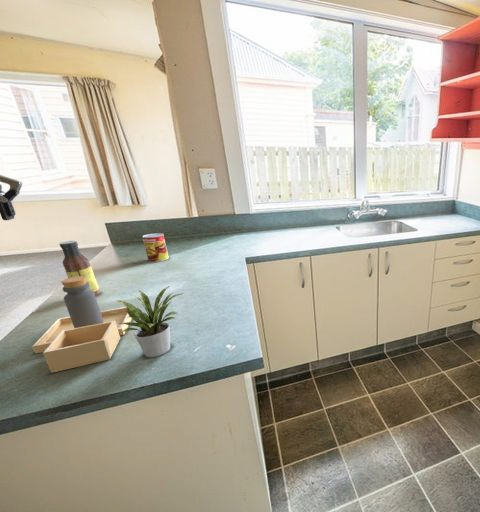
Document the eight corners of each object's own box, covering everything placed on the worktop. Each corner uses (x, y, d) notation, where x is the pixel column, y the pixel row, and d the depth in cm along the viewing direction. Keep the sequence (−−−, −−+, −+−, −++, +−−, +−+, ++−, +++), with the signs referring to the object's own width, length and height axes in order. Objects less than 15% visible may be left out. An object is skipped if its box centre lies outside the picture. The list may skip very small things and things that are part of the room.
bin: (51, 373, 67) (42, 352, 65) (68, 348, 75) (62, 330, 74) (110, 359, 72) (103, 340, 70) (120, 338, 80) (115, 320, 78)
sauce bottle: (101, 290, 108) (84, 238, 102) (100, 296, 103) (82, 242, 97) (76, 295, 104) (57, 241, 98) (74, 301, 99) (54, 245, 93)
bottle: (70, 331, 82) (52, 281, 77) (96, 321, 87) (80, 273, 82) (84, 335, 80) (66, 284, 75) (109, 324, 85) (94, 276, 80)
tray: (35, 353, 73) (32, 346, 73) (60, 325, 86) (58, 318, 85) (123, 335, 81) (121, 328, 81) (135, 311, 94) (133, 305, 93)
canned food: (144, 261, 139) (138, 236, 136) (160, 256, 146) (155, 232, 143) (156, 262, 137) (150, 237, 133) (172, 257, 144) (167, 234, 141)
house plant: (198, 328, 85) (186, 275, 80) (195, 355, 73) (181, 295, 68) (135, 341, 79) (119, 285, 73) (121, 373, 67) (100, 309, 62)
